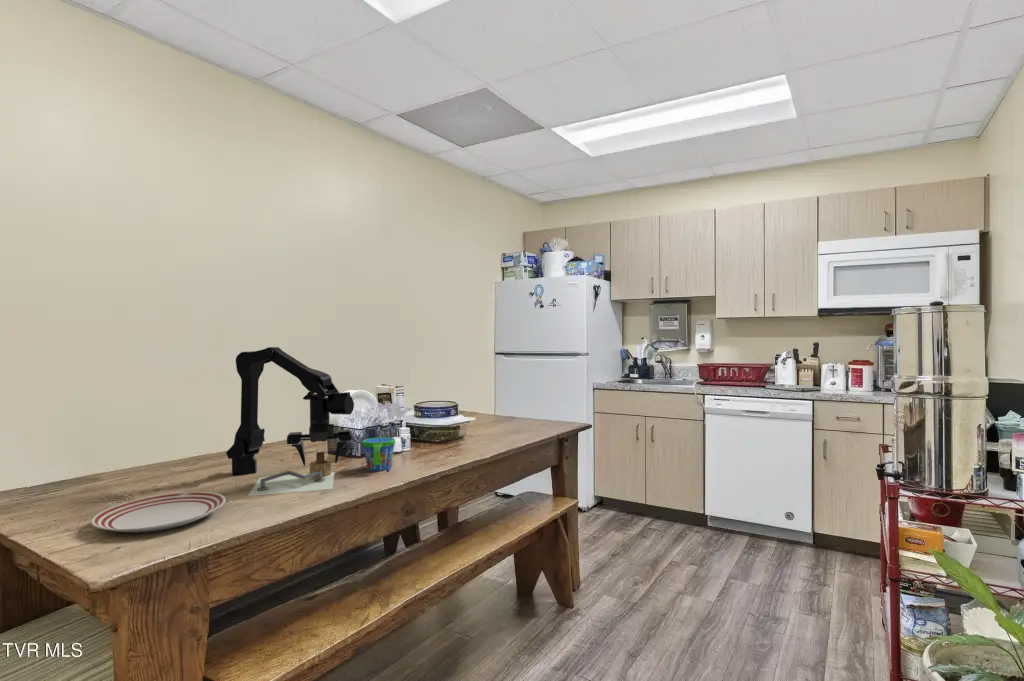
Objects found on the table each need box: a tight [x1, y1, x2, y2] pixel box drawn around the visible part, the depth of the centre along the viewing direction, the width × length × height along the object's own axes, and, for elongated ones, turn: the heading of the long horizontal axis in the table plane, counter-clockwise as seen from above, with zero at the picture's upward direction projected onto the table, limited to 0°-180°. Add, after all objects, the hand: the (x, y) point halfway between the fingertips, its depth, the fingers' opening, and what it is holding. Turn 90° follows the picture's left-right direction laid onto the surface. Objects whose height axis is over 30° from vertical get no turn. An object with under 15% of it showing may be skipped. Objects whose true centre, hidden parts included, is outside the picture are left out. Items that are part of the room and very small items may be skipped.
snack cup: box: [361, 436, 396, 472], centre depth 182 cm, size 16×10×10 cm
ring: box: [309, 459, 332, 478], centre depth 172 cm, size 6×6×4 cm
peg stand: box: [308, 451, 335, 480], centre depth 172 cm, size 8×8×7 cm
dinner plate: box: [90, 491, 226, 533], centre depth 135 cm, size 27×27×3 cm
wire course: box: [247, 470, 335, 497], centre depth 165 cm, size 22×21×4 cm
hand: (320, 464), depth 172 cm, fingers open, 9 cm apart
